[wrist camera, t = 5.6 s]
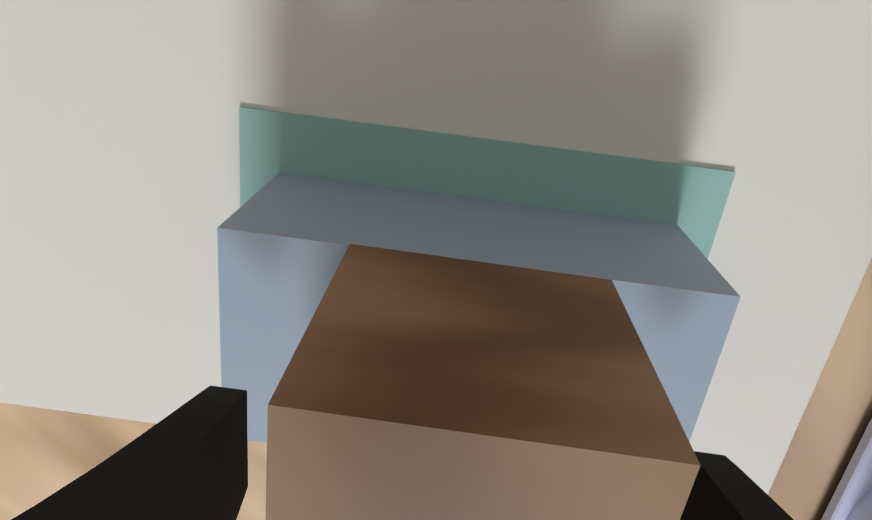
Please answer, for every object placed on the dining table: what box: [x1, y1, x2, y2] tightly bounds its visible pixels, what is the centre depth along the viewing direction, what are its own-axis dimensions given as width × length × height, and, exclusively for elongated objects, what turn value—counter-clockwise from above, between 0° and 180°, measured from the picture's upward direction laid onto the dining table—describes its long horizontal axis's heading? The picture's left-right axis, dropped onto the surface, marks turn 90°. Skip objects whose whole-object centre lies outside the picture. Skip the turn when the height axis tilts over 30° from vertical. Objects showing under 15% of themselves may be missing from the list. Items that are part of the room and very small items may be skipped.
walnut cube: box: [266, 244, 701, 520], centre depth 10 cm, size 5×5×5 cm
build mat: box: [0, 0, 872, 495], centre depth 15 cm, size 24×20×1 cm
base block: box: [217, 173, 741, 443], centre depth 14 cm, size 10×5×4 cm, turn 83°
